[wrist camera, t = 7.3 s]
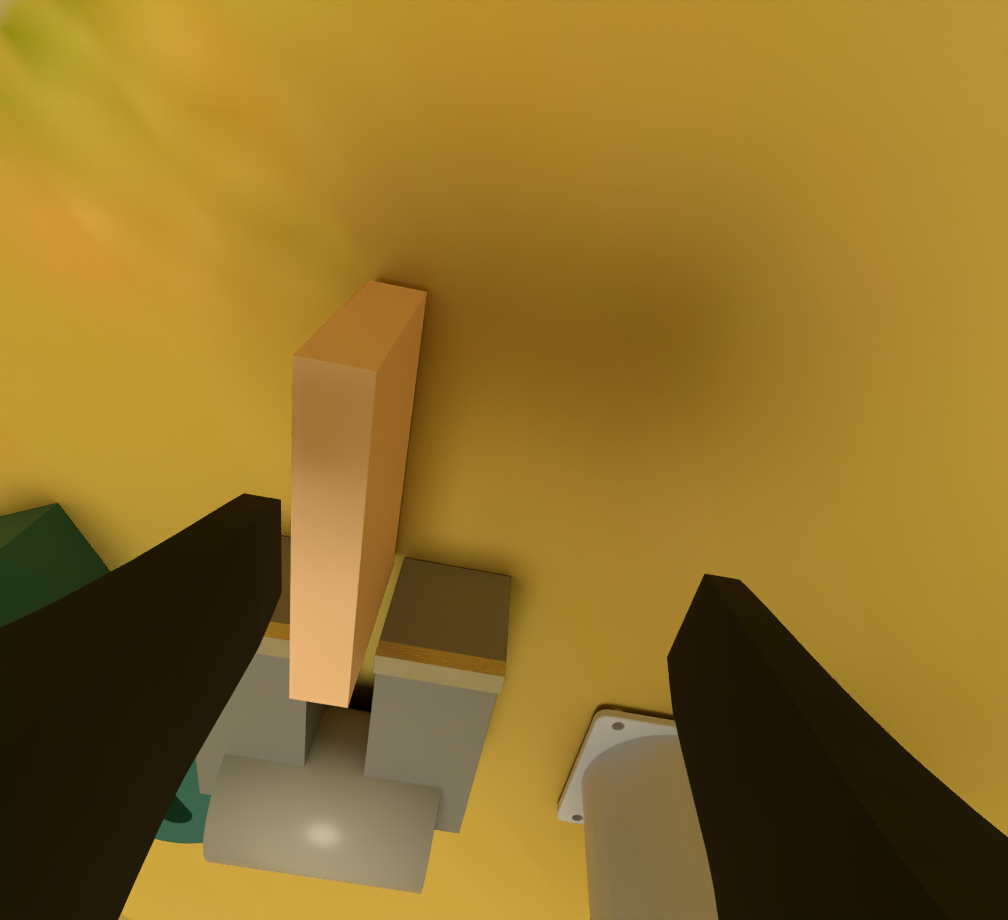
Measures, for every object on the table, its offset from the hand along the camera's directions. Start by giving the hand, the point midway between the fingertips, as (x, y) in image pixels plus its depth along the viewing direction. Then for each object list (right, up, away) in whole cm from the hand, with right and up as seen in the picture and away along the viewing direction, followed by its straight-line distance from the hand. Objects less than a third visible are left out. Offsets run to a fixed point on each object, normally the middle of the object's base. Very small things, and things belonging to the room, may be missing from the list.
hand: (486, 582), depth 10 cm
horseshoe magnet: (-6, -6, +15) cm, 17 cm away
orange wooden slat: (-4, +3, +9) cm, 10 cm away
